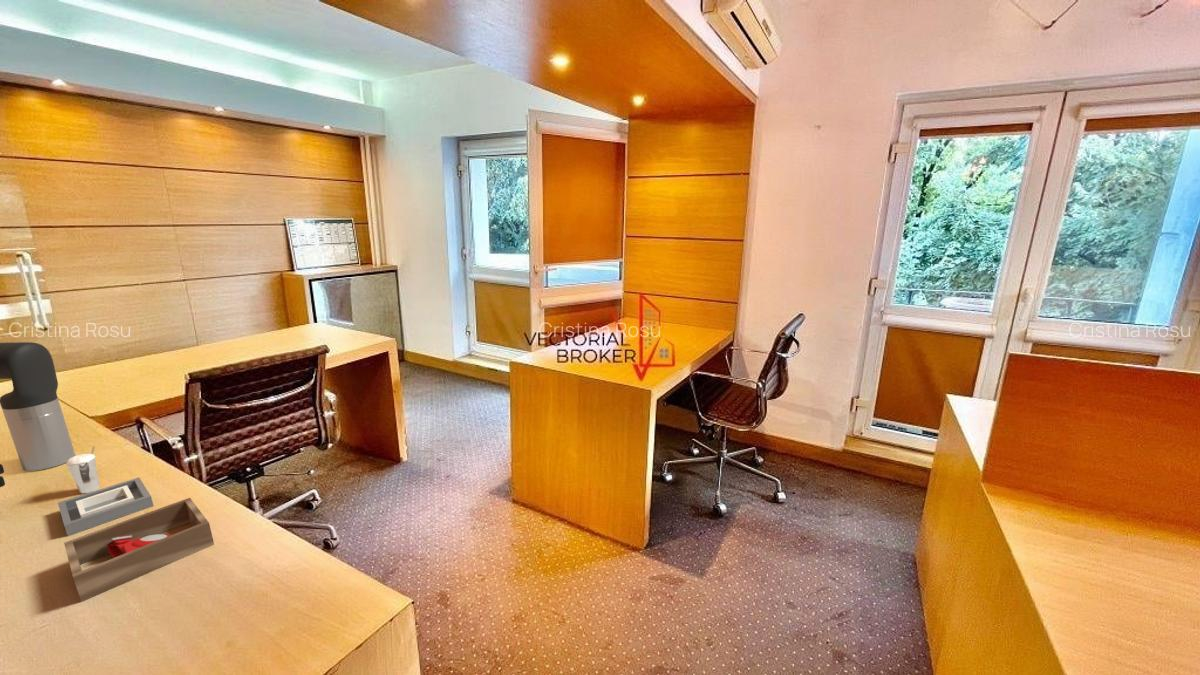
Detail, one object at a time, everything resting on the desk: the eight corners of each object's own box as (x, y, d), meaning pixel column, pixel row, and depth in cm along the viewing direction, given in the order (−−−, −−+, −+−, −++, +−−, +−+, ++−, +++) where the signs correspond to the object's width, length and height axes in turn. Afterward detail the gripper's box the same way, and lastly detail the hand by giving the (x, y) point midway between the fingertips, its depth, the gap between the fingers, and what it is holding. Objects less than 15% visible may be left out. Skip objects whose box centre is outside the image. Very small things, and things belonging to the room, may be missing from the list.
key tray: (71, 565, 86) (63, 542, 84) (194, 517, 100) (189, 497, 98) (81, 601, 78) (73, 577, 76) (214, 544, 91) (209, 522, 90)
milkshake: (112, 483, 113) (102, 446, 110) (87, 495, 107) (75, 457, 105) (96, 482, 113) (85, 445, 111) (70, 494, 108) (58, 456, 105)
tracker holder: (189, 527, 95) (168, 545, 86) (185, 549, 94) (164, 570, 85) (110, 530, 89) (79, 550, 80) (106, 553, 89) (75, 576, 80)
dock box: (60, 512, 101) (57, 502, 101) (141, 486, 111) (139, 477, 111) (67, 536, 94) (64, 525, 93) (153, 505, 104) (150, 496, 103)
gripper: (-149, 505, 81) (-1, 468, 94) (-137, 479, 90) (-3, 449, 102) (-134, 541, 83) (10, 500, 96) (-123, 513, 91) (7, 479, 104)
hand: (3, 474), depth 99 cm, fingers open, 8 cm apart
